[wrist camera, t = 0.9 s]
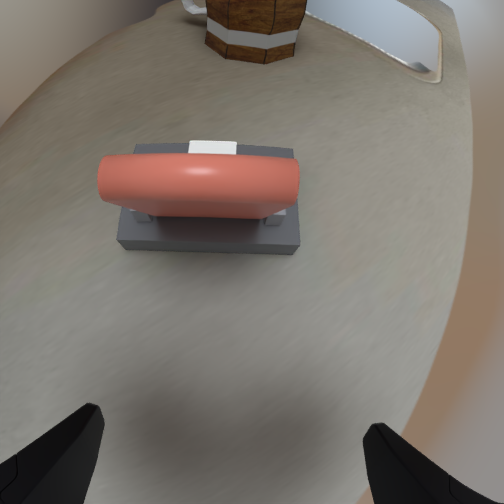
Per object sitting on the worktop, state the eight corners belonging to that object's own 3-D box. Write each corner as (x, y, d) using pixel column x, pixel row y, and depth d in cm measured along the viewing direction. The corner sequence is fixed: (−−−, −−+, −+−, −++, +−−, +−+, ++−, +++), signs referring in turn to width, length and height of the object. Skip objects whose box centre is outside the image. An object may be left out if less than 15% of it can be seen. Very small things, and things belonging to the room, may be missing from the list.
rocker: (261, 219, 22) (299, 202, 11) (154, 216, 21) (95, 198, 10) (262, 192, 22) (299, 153, 11) (156, 189, 21) (100, 150, 10)
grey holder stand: (292, 254, 24) (307, 236, 20) (125, 249, 23) (107, 230, 18) (287, 164, 27) (298, 134, 23) (141, 159, 25) (130, 130, 21)
